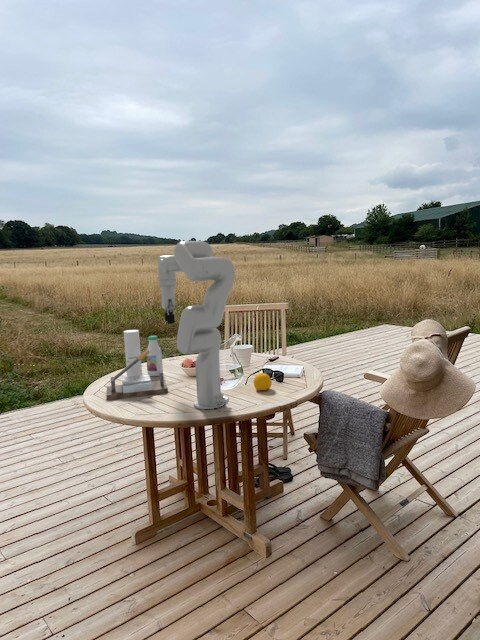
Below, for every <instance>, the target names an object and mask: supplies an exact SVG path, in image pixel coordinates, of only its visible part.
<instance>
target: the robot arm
mask: <svg viewBox="0 0 480 640" xmlns="http://www.w3.org/2000/svg"><path fill="white" fill-rule="evenodd" d="M173 250H174V251H173V254H172V255H171V254H170V255H169V254H168V255H160V256H158V257H157V269H158V270H157V271H158V272H157V273H158V284H159V285H158V286H159V288H161V292H160V294H161V308H162V309H163V310H164V320H165V322H167V323H166V324H168V325H170V324H176V321H175V318H176V317H175V311H174V309H175V308H176V307H175V306H176V305H175V304H176V300H175V299H176V298H175V287H177V279H176V278H177V277H176V276H177V275H176V273H184V274H185V277H187V278H188V279H189V280H190V281H191V282H198V283H199V282H205V281H206V282H210V281H213V282H212V284H210V286H209V287H208V288H207V289H206V291H205V293H204V297H203V300H202V303H200V304H195V305H189V306H186V307H185V308H184V309H183V310H182V312H181V315H180V319H179V324H178V329H177V335H176V347H177V350H178V352H179V353H181V354H183V355H192V354H197V356H196V359H195V378H196V379H195V380H196V400H194V401H193V407H195V408H196V409H198V410H204V409H210V410H215V409H214V408H217V409H219V408H218V407H220V408H222V407H224V406H225V405H227V404H229V401H230V398H229V397H227V396H224V393H223V392H222V389H221V367H220V366H221V365H220V363H221V362H220V350H221V342H222V336H221V335H222V334H221V331H220V330H219V329H218V327H219V326H221V324H222V321H223V317H224V313H225V309H226V306H227V301H228V297H229V295H230V292H231V291H232V288H233V286H234V283H235V278H236V274H235V273H236V272H235V266H234V264H233V262H232V260H230V259H229V258H227V257H221V256H213V248H212V246H211V245H210V244H209V243H208V242H207V241H204V240H186V241H185V240H184V241H183V240H182V241H179V242H178V243H177V244H176V245H175V247H174V249H173ZM224 404H225V405H224ZM223 405H224V406H223ZM221 406H222V407H221Z"/></svg>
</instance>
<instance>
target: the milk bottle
mask: <svg viewBox="0 0 480 640" xmlns="http://www.w3.org/2000/svg"><path fill="white" fill-rule="evenodd" d="M147 339H148V346H147V348H146V350H147V349H148V350H149V352H150V353H149V354H148V355H146V356H145V357H146V369H147V371H146V373H147V375H149V377H160V375H159V371H160V370H162V372H163V373H164V371H163V370H164V369H163V355H162V349H161V347H160V346H159V342H158V335H149V336H148V338H147Z"/></svg>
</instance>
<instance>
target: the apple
mask: <svg viewBox="0 0 480 640" xmlns="http://www.w3.org/2000/svg"><path fill="white" fill-rule="evenodd" d="M253 387H254V389H256V390H257V391H260V390H265V391H268V390H269V389H270V388H271V387H272V378H271V377H270V375H269V374H267V373H266V372H265V373H264V372H262V373H261V372H260V373H257V375H255V376H254V378H253ZM267 389H268V390H267Z"/></svg>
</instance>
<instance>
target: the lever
mask: <svg viewBox="0 0 480 640" xmlns="http://www.w3.org/2000/svg"><path fill="white" fill-rule="evenodd" d="M149 353H150V352H149V350H148V349H147V348H146V349H145V351H143V352H142V353H141V355H140V356H138V358H137V359H136V360H135V361H133V362H132V363H131V364H130V365H128V366H127V367H125V368H124V369H122V370H121V371H120V372H119V373H117V374H115V376H113V377H114V378H112V380H115V381H116V380H117V379H118V378H120V377H121V376H122V375H123V374H125V373H127V370H128V369H130V368H131V367H132V366H133V365H135V364H136V363H137V362H138V361H139V360H141V361H142V360H143V359H144V358H145V357H146V355H148V354H149Z"/></svg>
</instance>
